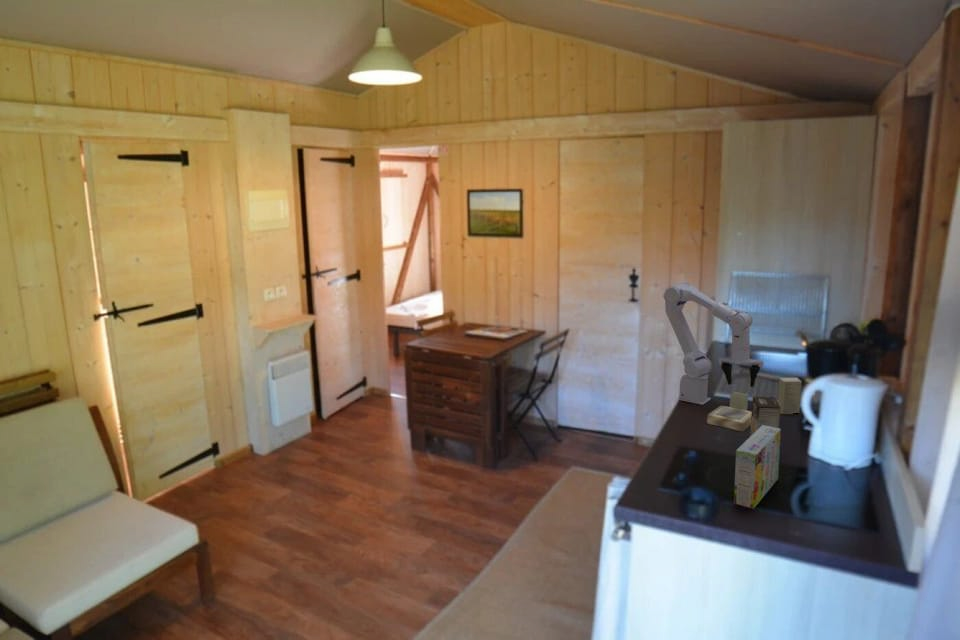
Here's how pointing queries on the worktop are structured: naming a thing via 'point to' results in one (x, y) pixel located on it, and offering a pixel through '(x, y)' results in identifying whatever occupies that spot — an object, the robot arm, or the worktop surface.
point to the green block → (739, 401)
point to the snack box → (757, 466)
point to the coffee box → (764, 413)
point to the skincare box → (789, 395)
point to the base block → (730, 418)
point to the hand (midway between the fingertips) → (740, 385)
